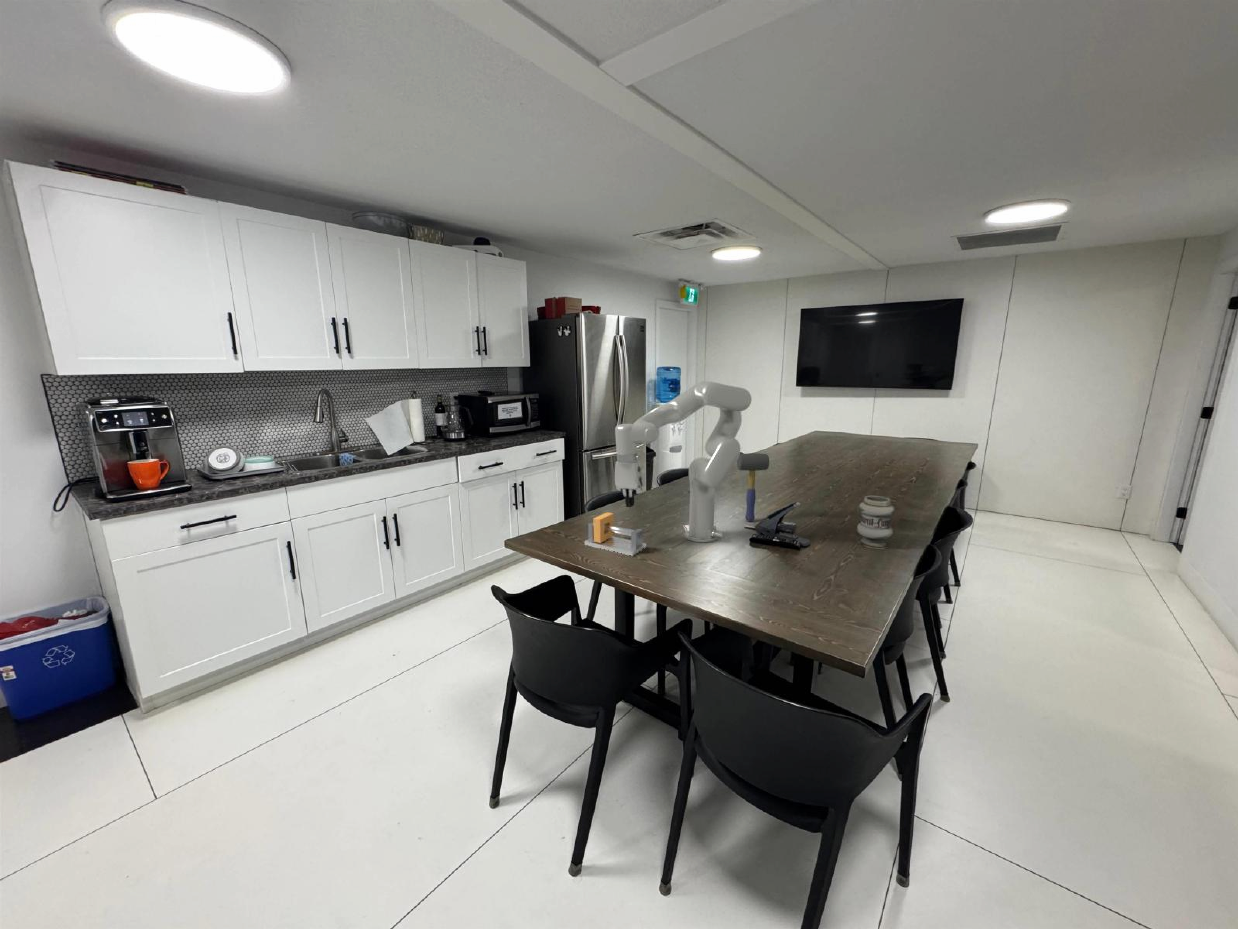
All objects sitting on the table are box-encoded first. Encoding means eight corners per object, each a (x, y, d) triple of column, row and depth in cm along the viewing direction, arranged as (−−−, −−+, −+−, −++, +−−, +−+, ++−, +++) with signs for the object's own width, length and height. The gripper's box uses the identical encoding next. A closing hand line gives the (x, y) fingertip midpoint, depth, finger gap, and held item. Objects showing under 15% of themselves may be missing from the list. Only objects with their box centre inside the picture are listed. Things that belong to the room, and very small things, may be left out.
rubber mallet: (761, 518, 212) (765, 451, 206) (766, 523, 204) (770, 454, 199) (733, 518, 212) (736, 451, 206) (737, 524, 204) (740, 454, 199)
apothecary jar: (848, 540, 184) (852, 495, 181) (872, 537, 188) (877, 492, 184) (873, 551, 173) (878, 503, 169) (899, 548, 177) (904, 500, 173)
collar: (613, 535, 185) (613, 513, 183) (600, 542, 177) (600, 519, 176) (607, 534, 186) (607, 512, 185) (593, 541, 179) (593, 518, 177)
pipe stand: (646, 547, 178) (646, 527, 177) (632, 556, 170) (632, 535, 168) (599, 537, 189) (599, 518, 188) (584, 544, 181) (584, 525, 179)
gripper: (650, 457, 174) (652, 505, 177) (615, 455, 181) (618, 501, 185) (640, 461, 167) (642, 511, 171) (604, 459, 175) (607, 507, 179)
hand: (630, 506), depth 178 cm, fingers closed
